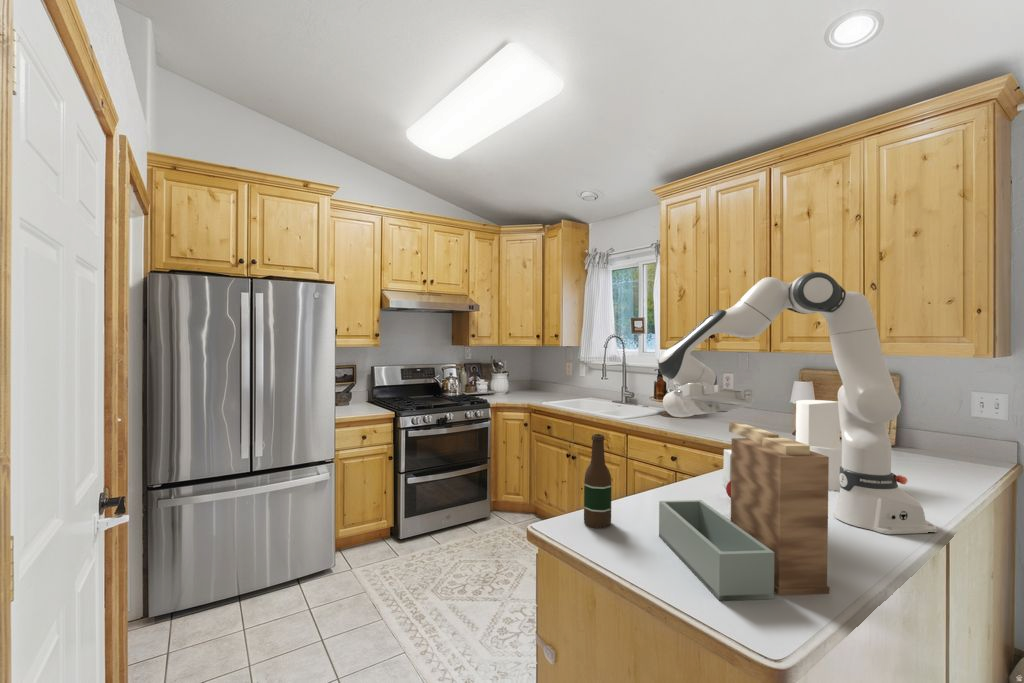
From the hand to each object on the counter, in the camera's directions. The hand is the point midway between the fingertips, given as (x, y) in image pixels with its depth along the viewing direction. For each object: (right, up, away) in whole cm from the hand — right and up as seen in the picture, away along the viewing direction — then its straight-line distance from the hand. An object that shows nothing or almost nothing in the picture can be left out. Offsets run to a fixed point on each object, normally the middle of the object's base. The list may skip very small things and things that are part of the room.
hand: (736, 390), depth 125 cm
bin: (-14, -37, -18) cm, 43 cm away
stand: (-2, -37, -21) cm, 43 cm away
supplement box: (+17, -37, +35) cm, 54 cm away
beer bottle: (-35, -37, +5) cm, 51 cm away
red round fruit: (+11, -37, +23) cm, 45 cm away
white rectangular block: (+51, -37, +43) cm, 76 cm away
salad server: (-2, -10, -17) cm, 19 cm away
